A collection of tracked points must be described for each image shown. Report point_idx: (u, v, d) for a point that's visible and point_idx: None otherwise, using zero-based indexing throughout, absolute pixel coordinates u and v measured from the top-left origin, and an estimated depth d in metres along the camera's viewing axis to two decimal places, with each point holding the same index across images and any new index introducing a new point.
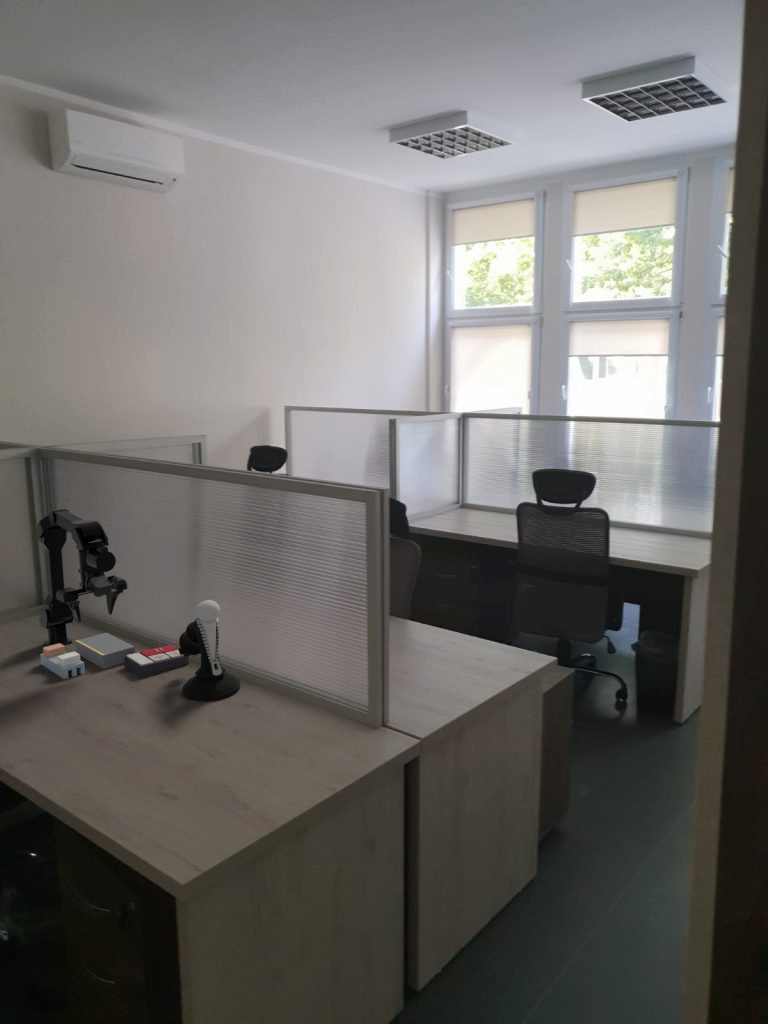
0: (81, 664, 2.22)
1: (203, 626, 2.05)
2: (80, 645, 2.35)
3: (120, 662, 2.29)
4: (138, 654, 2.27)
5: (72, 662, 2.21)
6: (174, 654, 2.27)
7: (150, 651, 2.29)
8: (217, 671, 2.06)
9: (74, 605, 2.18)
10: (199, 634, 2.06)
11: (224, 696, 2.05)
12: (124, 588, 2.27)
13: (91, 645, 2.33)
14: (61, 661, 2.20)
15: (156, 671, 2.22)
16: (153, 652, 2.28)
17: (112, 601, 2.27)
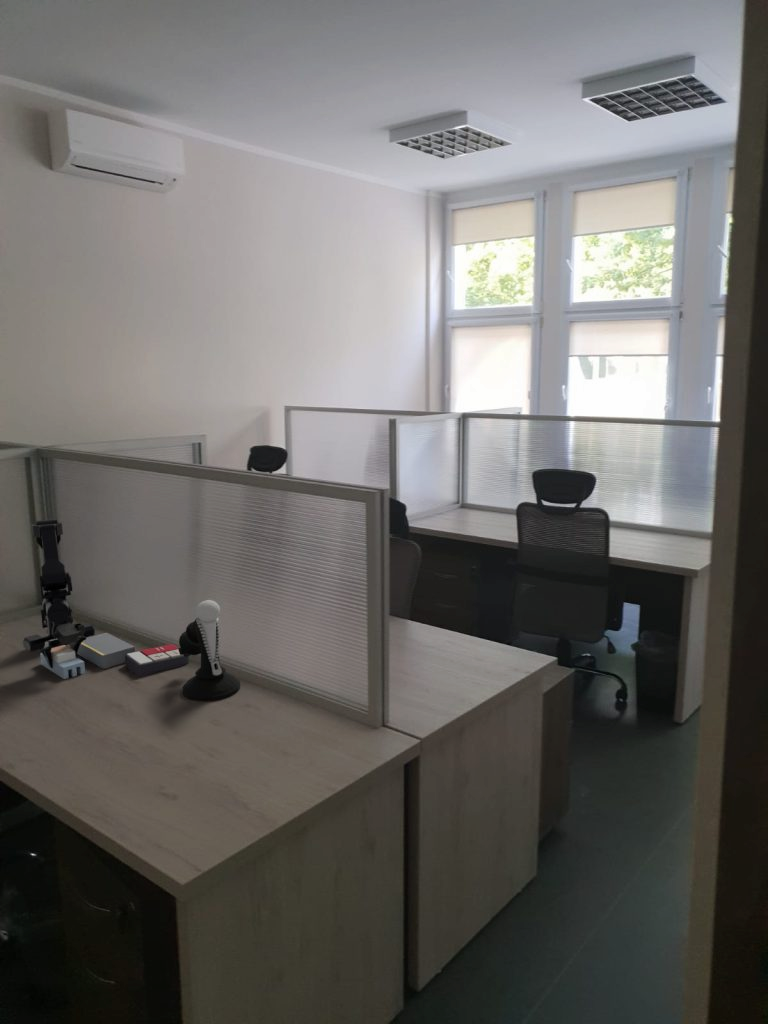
0: (81, 663, 2.22)
1: (203, 626, 2.05)
2: (80, 645, 2.35)
3: (120, 662, 2.29)
4: (138, 653, 2.28)
5: (68, 658, 2.23)
6: (174, 653, 2.28)
7: (151, 650, 2.30)
8: (217, 671, 2.06)
9: (46, 651, 2.20)
10: (199, 634, 2.06)
11: (224, 696, 2.05)
12: (92, 634, 2.28)
13: (91, 645, 2.33)
14: (56, 658, 2.22)
15: (155, 670, 2.22)
16: (154, 651, 2.29)
17: (75, 648, 2.27)
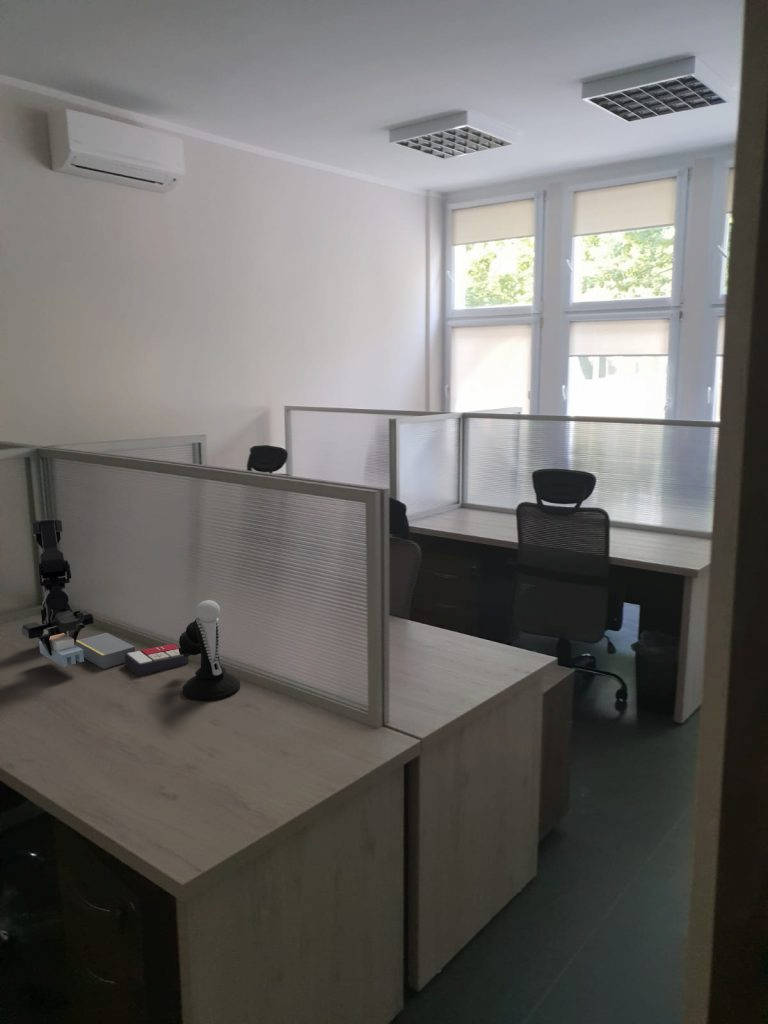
0: (80, 651, 2.21)
1: (203, 626, 2.05)
2: (80, 645, 2.35)
3: (120, 662, 2.29)
4: (139, 652, 2.28)
5: (66, 646, 2.22)
6: (174, 653, 2.28)
7: (151, 650, 2.30)
8: (217, 671, 2.06)
9: (44, 639, 2.19)
10: (199, 634, 2.06)
11: (224, 696, 2.05)
12: (91, 622, 2.27)
13: (91, 645, 2.33)
14: (55, 645, 2.21)
15: (155, 670, 2.23)
16: (154, 651, 2.29)
17: (74, 636, 2.26)
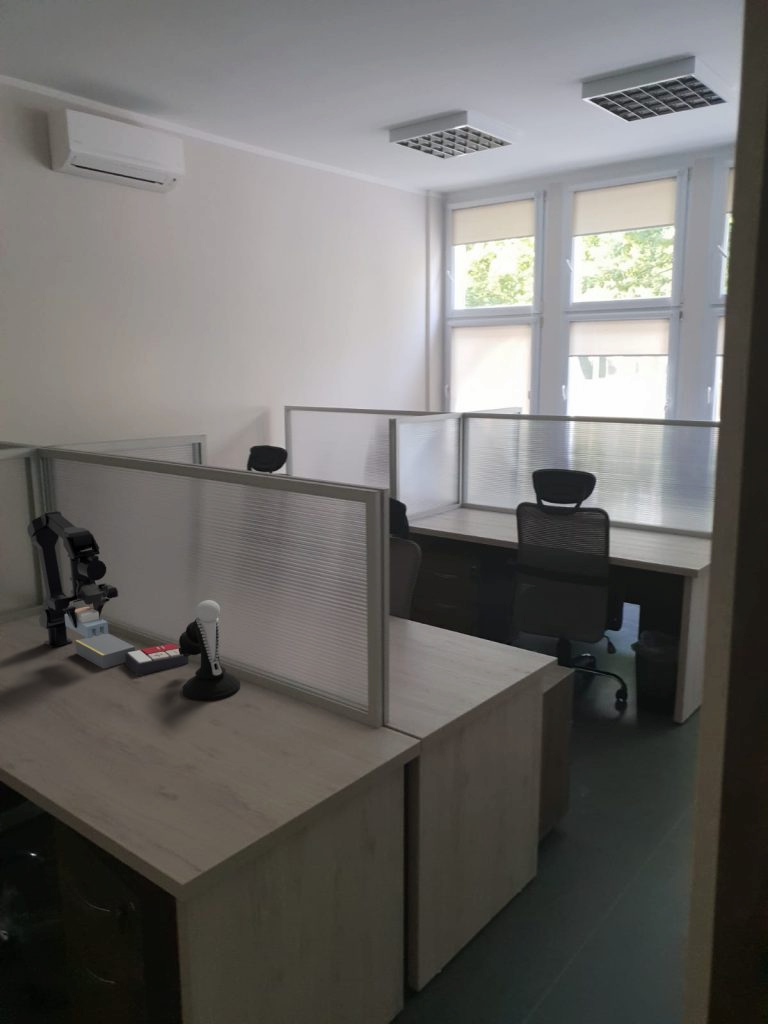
0: (104, 623, 2.25)
1: (203, 626, 2.05)
2: (80, 645, 2.35)
3: (120, 662, 2.29)
4: (139, 652, 2.29)
5: (91, 619, 2.27)
6: (174, 653, 2.28)
7: (151, 649, 2.31)
8: (217, 671, 2.06)
9: (70, 611, 2.24)
10: (199, 634, 2.06)
11: (224, 696, 2.05)
12: (115, 596, 2.32)
13: (91, 645, 2.33)
14: (80, 618, 2.25)
15: (154, 669, 2.23)
16: (154, 650, 2.30)
17: (98, 609, 2.31)
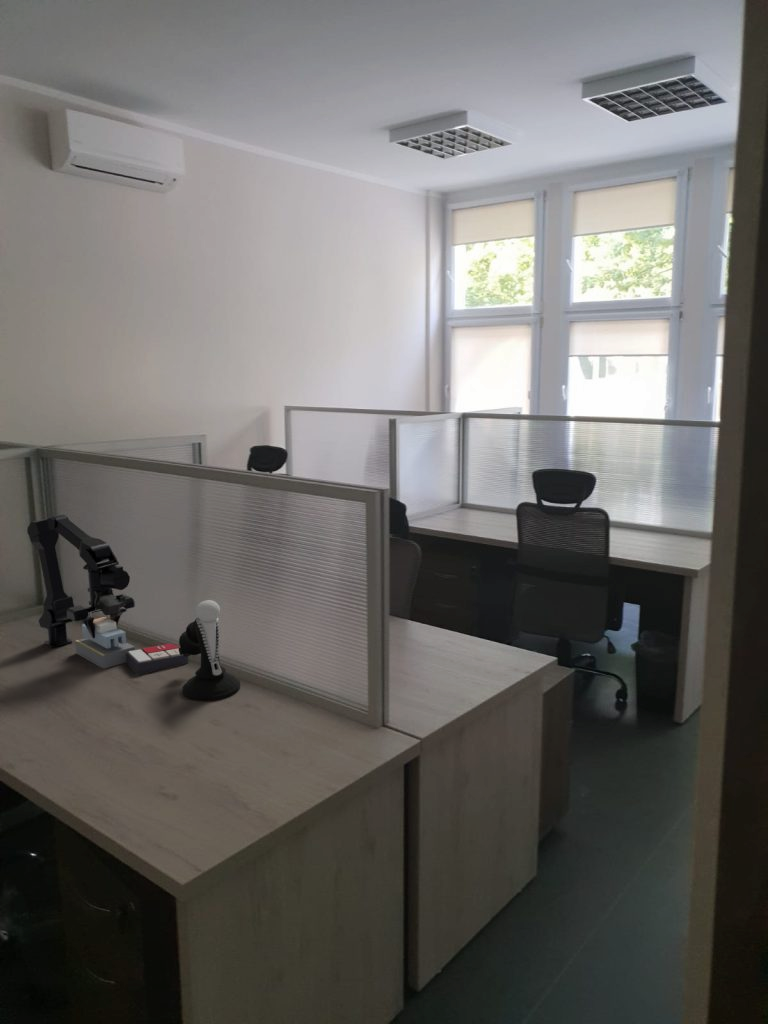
0: (122, 633, 2.30)
1: (203, 626, 2.05)
2: (80, 645, 2.35)
3: (120, 662, 2.29)
4: (140, 651, 2.30)
5: (109, 629, 2.31)
6: (174, 652, 2.29)
7: (152, 648, 2.31)
8: (217, 671, 2.06)
9: (89, 622, 2.28)
10: (199, 634, 2.06)
11: (224, 696, 2.05)
12: (131, 606, 2.36)
13: (91, 645, 2.33)
14: (98, 628, 2.30)
15: (154, 668, 2.24)
16: (155, 649, 2.30)
17: (115, 619, 2.35)
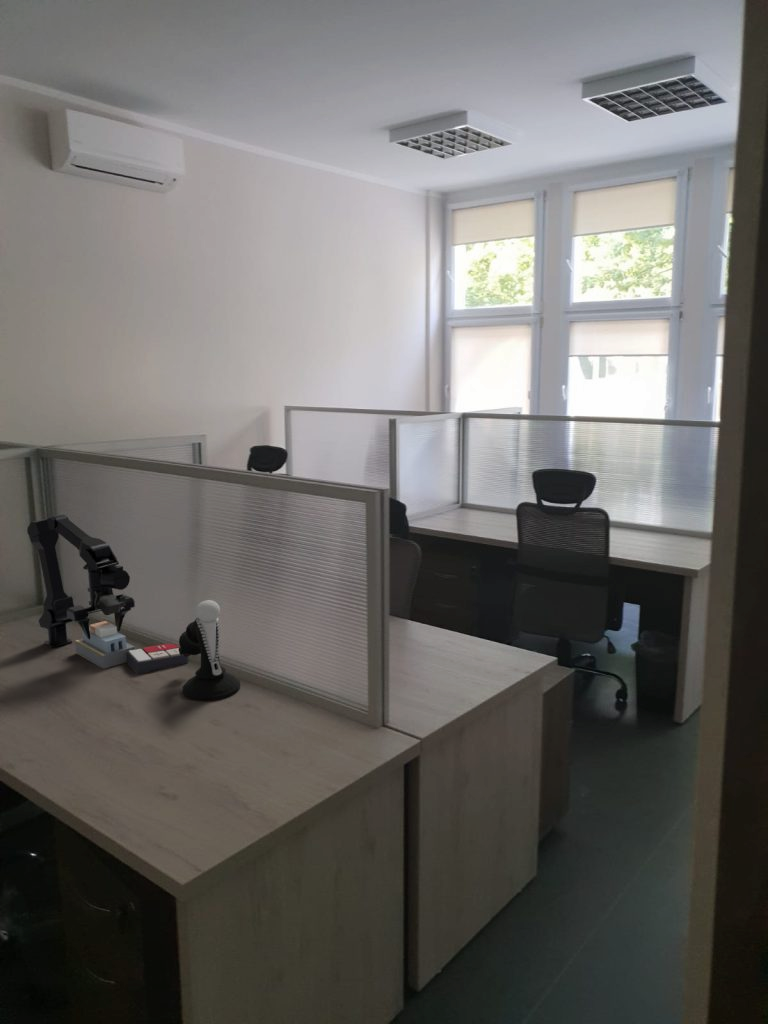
0: (123, 638, 2.30)
1: (203, 626, 2.05)
2: (80, 645, 2.35)
3: (120, 662, 2.29)
4: (140, 650, 2.30)
5: (109, 633, 2.31)
6: (174, 652, 2.29)
7: (152, 648, 2.32)
8: (217, 671, 2.06)
9: (84, 623, 2.27)
10: (199, 634, 2.06)
11: (224, 696, 2.05)
12: (132, 606, 2.36)
13: (91, 645, 2.33)
14: (98, 632, 2.30)
15: (154, 668, 2.24)
16: (155, 649, 2.31)
17: (120, 618, 2.36)
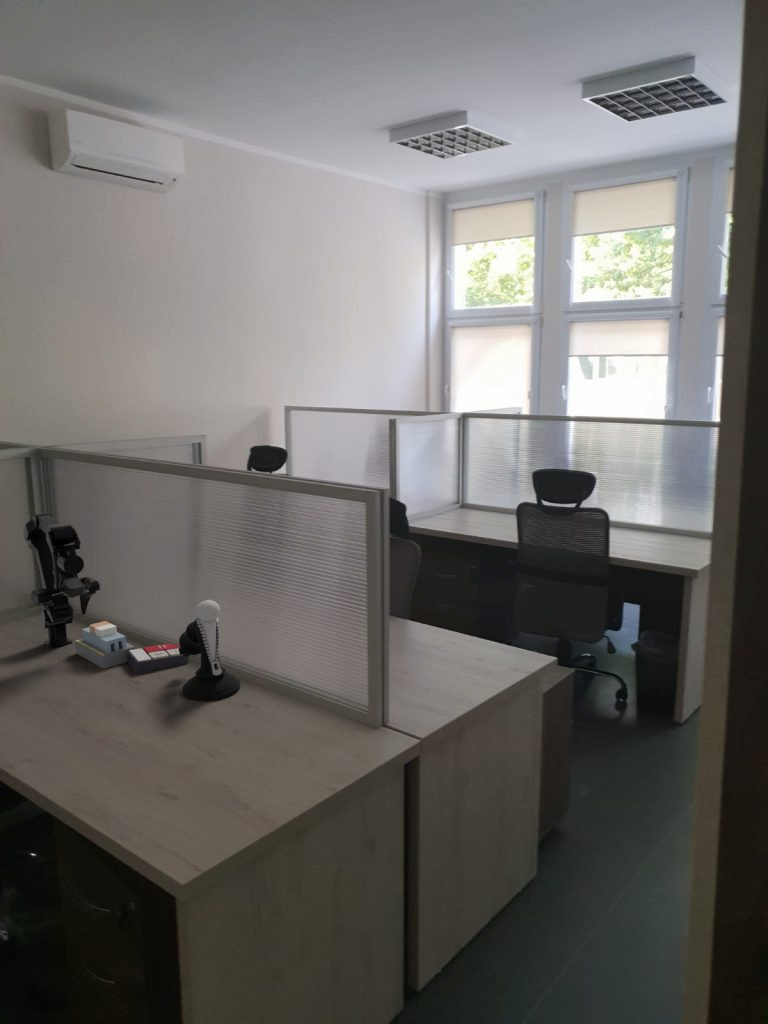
0: (123, 638, 2.30)
1: (203, 626, 2.05)
2: (80, 645, 2.35)
3: (120, 662, 2.29)
4: (140, 650, 2.30)
5: (109, 633, 2.31)
6: (174, 652, 2.29)
7: (153, 647, 2.32)
8: (217, 671, 2.06)
9: (48, 605, 2.27)
10: (199, 634, 2.06)
11: (224, 696, 2.05)
12: (97, 589, 2.36)
13: (91, 645, 2.33)
14: (98, 632, 2.30)
15: (154, 668, 2.24)
16: (155, 649, 2.31)
17: (85, 601, 2.36)
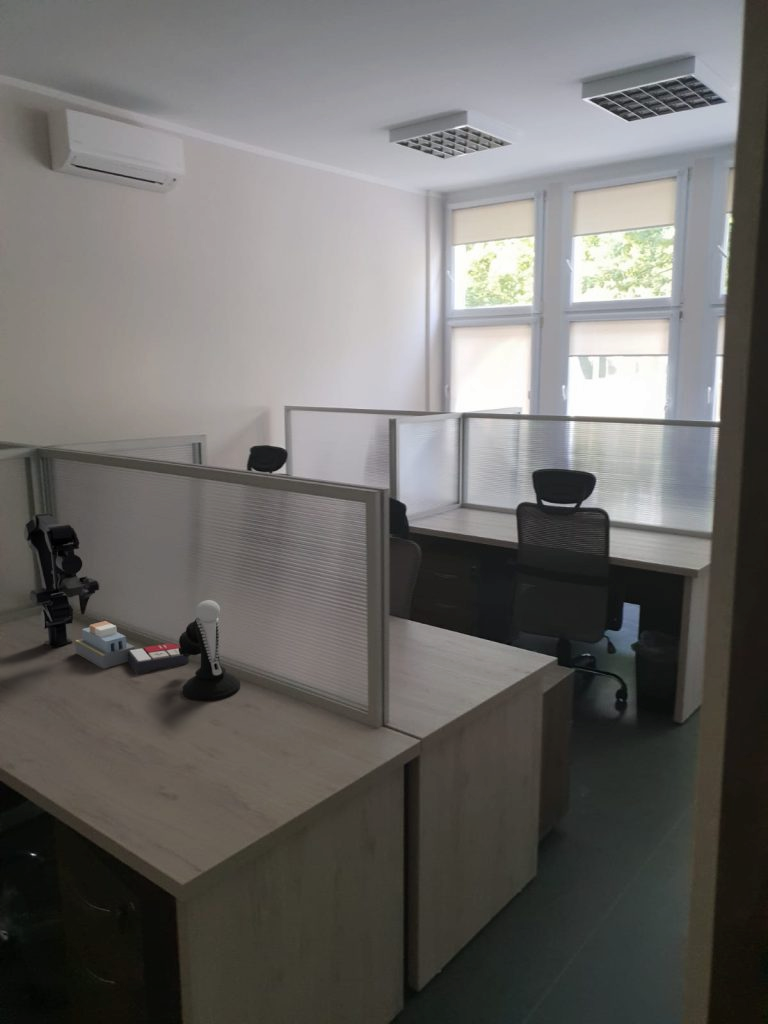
0: (123, 638, 2.30)
1: (203, 626, 2.05)
2: (80, 645, 2.35)
3: (120, 662, 2.29)
4: (141, 650, 2.30)
5: (109, 633, 2.31)
6: (174, 652, 2.29)
7: (153, 648, 2.32)
8: (217, 671, 2.06)
9: (47, 605, 2.27)
10: (199, 634, 2.06)
11: (224, 696, 2.05)
12: (96, 589, 2.36)
13: (91, 645, 2.33)
14: (98, 632, 2.30)
15: (154, 668, 2.24)
16: (156, 649, 2.31)
17: (84, 601, 2.36)
